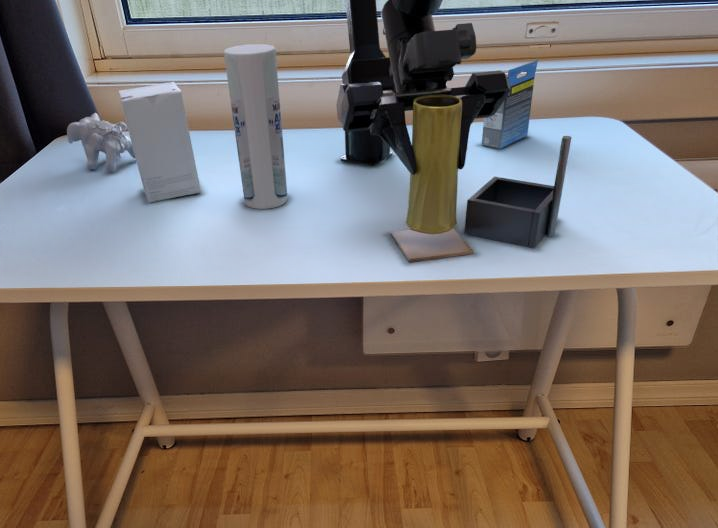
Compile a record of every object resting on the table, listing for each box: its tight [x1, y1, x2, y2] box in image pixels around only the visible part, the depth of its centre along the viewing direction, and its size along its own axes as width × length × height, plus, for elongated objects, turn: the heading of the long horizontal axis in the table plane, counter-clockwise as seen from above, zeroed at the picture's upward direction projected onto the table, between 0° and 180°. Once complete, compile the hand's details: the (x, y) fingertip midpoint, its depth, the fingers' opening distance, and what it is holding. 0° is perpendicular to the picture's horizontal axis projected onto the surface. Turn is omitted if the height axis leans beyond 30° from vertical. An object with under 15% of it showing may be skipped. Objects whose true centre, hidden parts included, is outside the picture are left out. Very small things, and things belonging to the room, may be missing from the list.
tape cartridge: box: [481, 59, 538, 150], centre depth 105 cm, size 9×4×12 cm, turn 136°
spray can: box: [223, 43, 288, 210], centre depth 86 cm, size 6×6×20 cm
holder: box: [464, 135, 572, 249], centre depth 77 cm, size 10×9×12 cm
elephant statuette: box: [66, 112, 136, 173], centre depth 105 cm, size 9×12×8 cm
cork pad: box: [390, 227, 475, 263], centre depth 78 cm, size 8×8×1 cm
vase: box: [405, 95, 462, 234], centre depth 73 cm, size 6×6×14 cm
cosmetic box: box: [118, 81, 202, 203], centre depth 91 cm, size 8×6×15 cm
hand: (437, 170), depth 72 cm, fingers closed on vase, 5 cm apart
